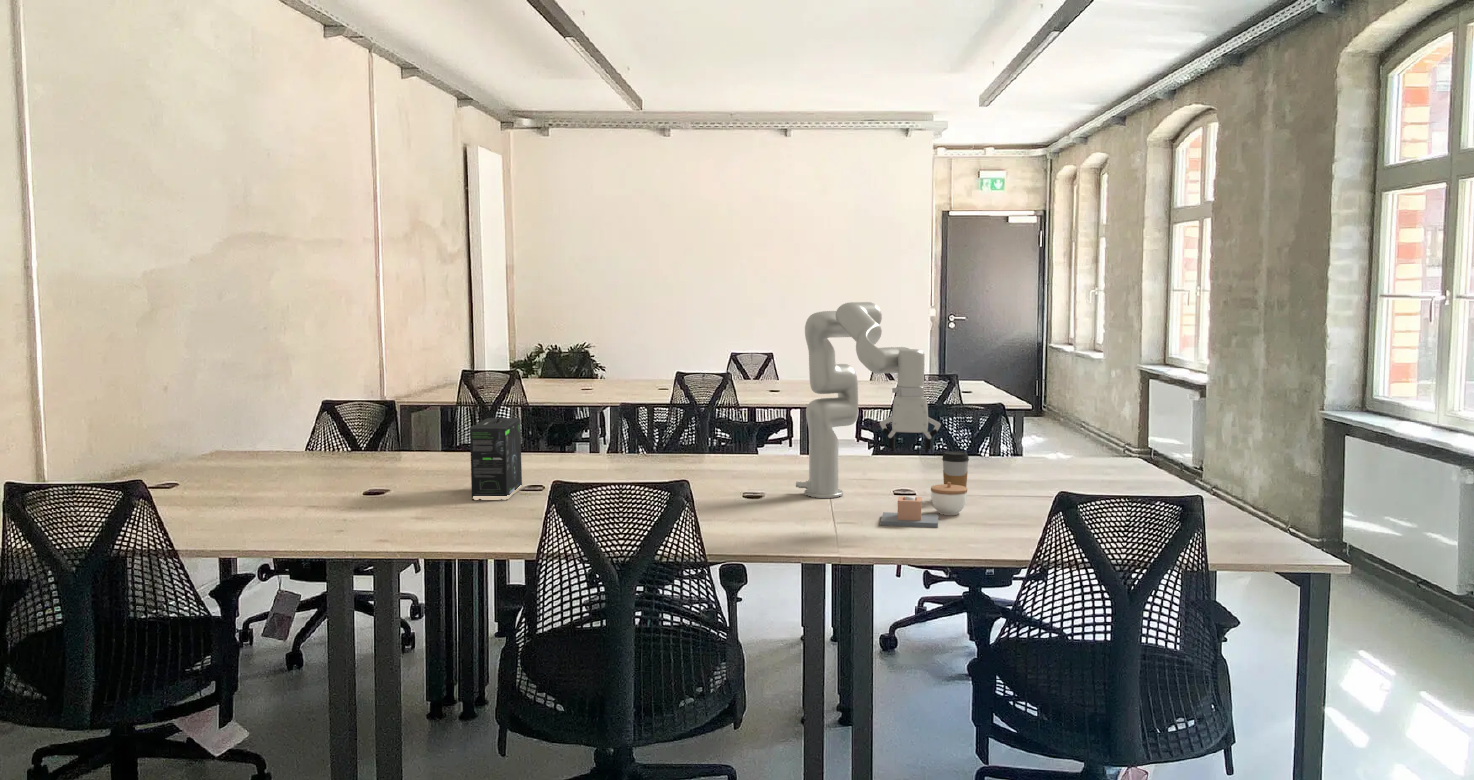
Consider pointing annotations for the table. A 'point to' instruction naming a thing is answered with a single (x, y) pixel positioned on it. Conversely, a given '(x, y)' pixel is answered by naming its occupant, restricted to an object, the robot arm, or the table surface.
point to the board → (892, 520)
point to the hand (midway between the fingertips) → (909, 451)
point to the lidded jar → (948, 498)
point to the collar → (909, 508)
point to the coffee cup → (955, 467)
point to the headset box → (495, 457)
